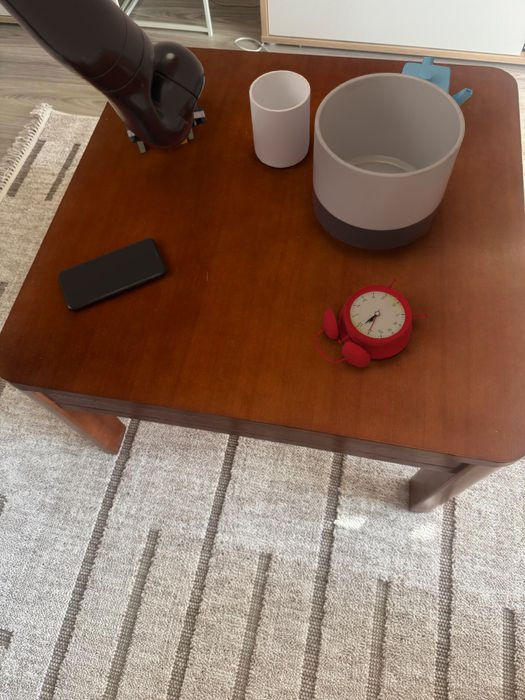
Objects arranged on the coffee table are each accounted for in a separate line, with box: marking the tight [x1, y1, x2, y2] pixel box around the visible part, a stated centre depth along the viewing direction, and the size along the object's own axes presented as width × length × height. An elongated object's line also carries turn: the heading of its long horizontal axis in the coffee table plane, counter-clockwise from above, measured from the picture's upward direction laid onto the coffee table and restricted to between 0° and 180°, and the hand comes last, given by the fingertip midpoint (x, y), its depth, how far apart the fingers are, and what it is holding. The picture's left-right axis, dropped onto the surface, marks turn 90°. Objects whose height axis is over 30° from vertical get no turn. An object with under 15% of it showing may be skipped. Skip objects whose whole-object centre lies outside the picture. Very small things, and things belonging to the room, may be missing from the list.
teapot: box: [400, 56, 474, 107], centre depth 88 cm, size 18×14×10 cm
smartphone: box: [57, 237, 168, 312], centre depth 81 cm, size 8×1×16 cm
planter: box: [311, 72, 466, 251], centre depth 76 cm, size 19×19×18 cm
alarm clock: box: [314, 277, 429, 368], centre depth 73 cm, size 10×6×15 cm
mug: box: [248, 70, 311, 169], centre depth 87 cm, size 10×12×12 cm
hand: (167, 130), depth 90 cm, fingers closed
